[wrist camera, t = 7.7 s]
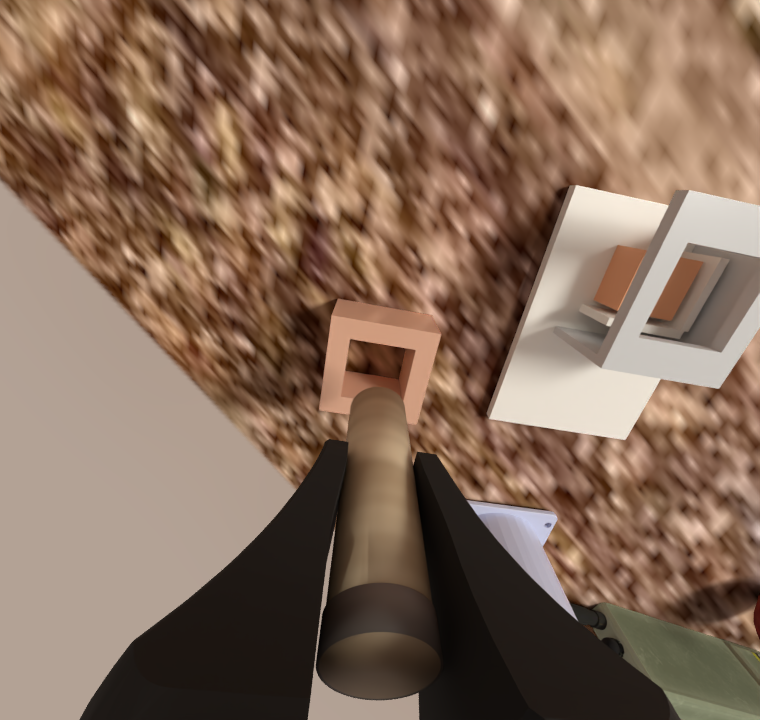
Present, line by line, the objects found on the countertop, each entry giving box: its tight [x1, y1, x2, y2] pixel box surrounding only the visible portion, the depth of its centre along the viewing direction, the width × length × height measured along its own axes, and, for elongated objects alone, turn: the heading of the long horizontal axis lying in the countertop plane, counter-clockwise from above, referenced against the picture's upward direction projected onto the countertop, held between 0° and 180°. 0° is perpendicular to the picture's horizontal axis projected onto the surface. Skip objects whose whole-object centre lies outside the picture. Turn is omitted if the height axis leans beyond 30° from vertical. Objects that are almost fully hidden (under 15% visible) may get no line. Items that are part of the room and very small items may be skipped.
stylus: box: [316, 387, 444, 700], centre depth 10 cm, size 2×2×8 cm
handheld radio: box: [570, 603, 760, 720], centre depth 29 cm, size 7×3×25 cm
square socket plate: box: [486, 185, 760, 440], centre depth 17 cm, size 13×9×5 cm
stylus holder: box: [319, 299, 441, 425], centre depth 19 cm, size 5×5×3 cm
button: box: [594, 245, 704, 321], centre depth 17 cm, size 3×3×2 cm
